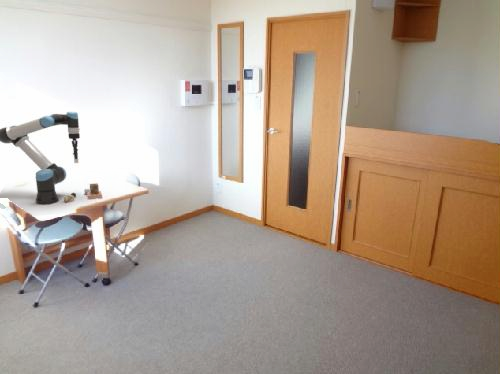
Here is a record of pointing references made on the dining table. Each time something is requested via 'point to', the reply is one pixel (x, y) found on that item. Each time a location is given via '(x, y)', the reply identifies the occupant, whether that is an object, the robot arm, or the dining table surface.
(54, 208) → the dining table surface
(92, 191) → the walnut block
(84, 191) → the grey plastic cylinder
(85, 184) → the dining table surface
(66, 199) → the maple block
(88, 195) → the terracotta stand
